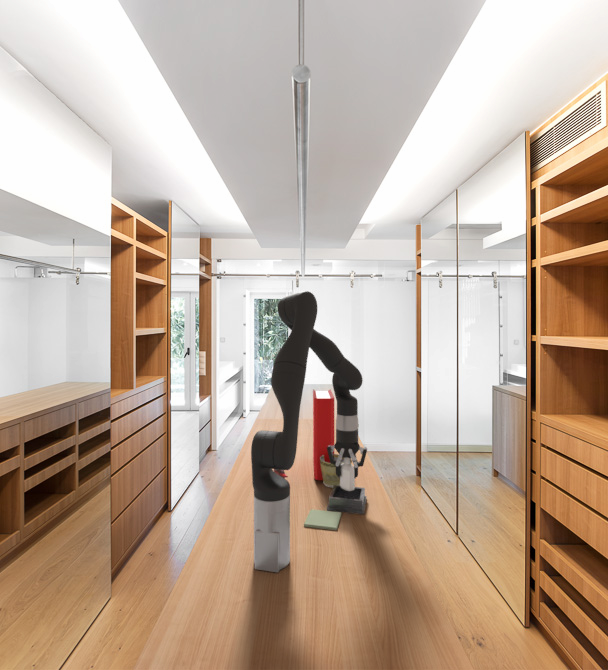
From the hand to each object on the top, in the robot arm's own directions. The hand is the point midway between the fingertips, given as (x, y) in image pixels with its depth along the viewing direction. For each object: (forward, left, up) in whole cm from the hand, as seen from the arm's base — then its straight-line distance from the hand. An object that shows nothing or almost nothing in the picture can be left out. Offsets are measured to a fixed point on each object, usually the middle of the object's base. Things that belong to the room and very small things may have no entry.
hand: (346, 476), depth 133 cm
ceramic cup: (+17, +6, -9) cm, 20 cm away
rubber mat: (-13, +6, -9) cm, 17 cm away
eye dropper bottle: (0, 0, -4) cm, 4 cm away
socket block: (0, 0, -9) cm, 9 cm away
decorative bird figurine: (+11, +27, -10) cm, 31 cm away
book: (+31, +14, -9) cm, 35 cm away
